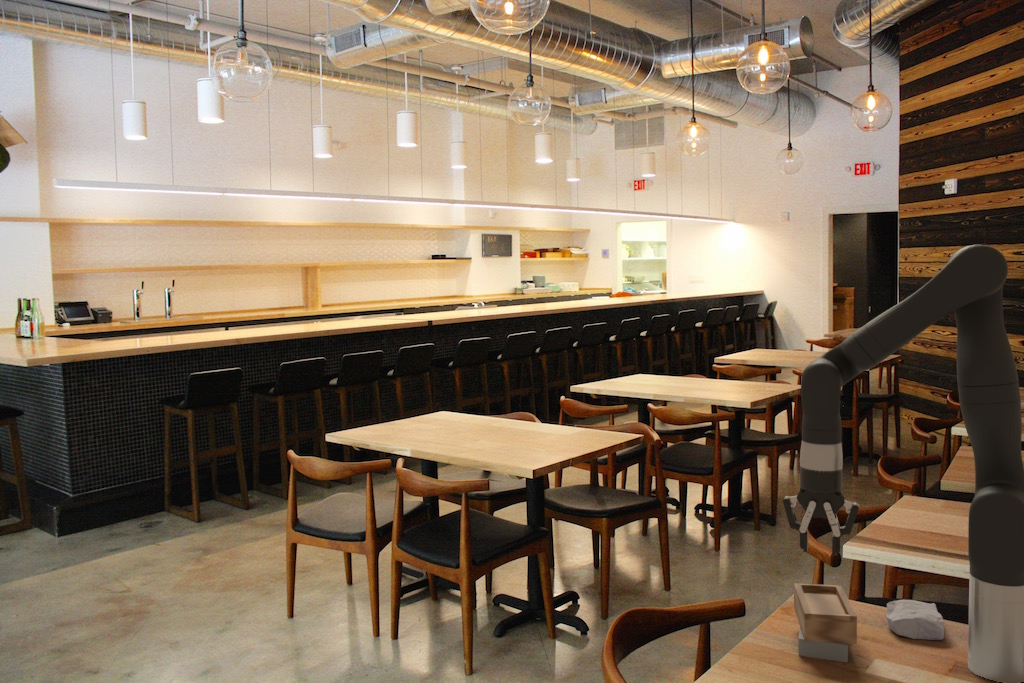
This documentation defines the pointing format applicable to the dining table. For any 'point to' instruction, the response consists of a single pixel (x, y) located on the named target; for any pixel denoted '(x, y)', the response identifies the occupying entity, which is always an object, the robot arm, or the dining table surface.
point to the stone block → (915, 619)
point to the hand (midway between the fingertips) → (819, 552)
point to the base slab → (823, 649)
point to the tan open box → (825, 613)
